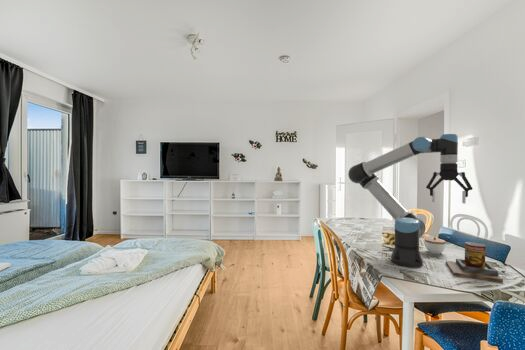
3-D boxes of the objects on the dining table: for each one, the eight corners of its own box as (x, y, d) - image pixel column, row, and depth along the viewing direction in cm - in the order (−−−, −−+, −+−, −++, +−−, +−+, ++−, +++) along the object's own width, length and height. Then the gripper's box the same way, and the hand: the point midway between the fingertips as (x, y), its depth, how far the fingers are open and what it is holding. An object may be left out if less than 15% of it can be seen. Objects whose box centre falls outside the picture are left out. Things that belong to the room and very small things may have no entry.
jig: (453, 275, 124) (454, 268, 124) (445, 263, 140) (445, 257, 140) (502, 282, 116) (503, 274, 116) (488, 268, 133) (488, 261, 133)
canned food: (463, 267, 129) (463, 243, 129) (466, 263, 135) (466, 240, 135) (484, 272, 124) (484, 247, 124) (485, 267, 129) (486, 243, 129)
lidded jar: (442, 256, 152) (442, 240, 152) (421, 252, 160) (421, 237, 160) (447, 252, 159) (447, 237, 159) (427, 248, 167) (427, 234, 167)
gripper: (422, 163, 142) (422, 202, 142) (480, 162, 131) (479, 204, 132) (420, 163, 149) (420, 200, 149) (475, 163, 138) (475, 203, 139)
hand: (448, 202), depth 140 cm, fingers open, 13 cm apart
